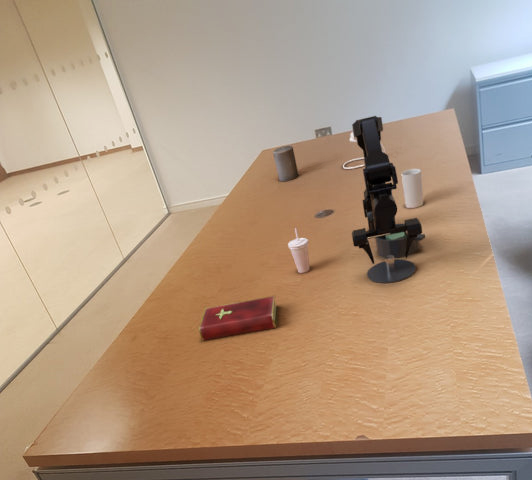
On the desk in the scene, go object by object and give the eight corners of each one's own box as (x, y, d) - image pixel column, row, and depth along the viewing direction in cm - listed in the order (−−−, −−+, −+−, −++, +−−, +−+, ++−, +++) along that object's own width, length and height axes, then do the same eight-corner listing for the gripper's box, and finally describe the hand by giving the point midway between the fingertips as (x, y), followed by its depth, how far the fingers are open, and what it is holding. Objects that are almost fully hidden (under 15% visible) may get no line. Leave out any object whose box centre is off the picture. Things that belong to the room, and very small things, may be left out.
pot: (414, 263, 165) (412, 242, 161) (362, 257, 177) (359, 238, 173) (434, 244, 172) (433, 225, 168) (384, 240, 183) (381, 221, 180)
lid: (400, 288, 154) (398, 270, 151) (358, 281, 163) (355, 265, 161) (424, 265, 162) (423, 248, 159) (383, 260, 171) (381, 244, 168)
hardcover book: (276, 328, 152) (272, 315, 150) (202, 341, 156) (197, 328, 154) (278, 307, 162) (274, 294, 160) (208, 319, 166) (204, 307, 164)
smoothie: (316, 264, 180) (307, 223, 173) (310, 274, 175) (302, 232, 168) (297, 266, 182) (288, 225, 175) (291, 275, 178) (282, 234, 170)
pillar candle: (302, 173, 270) (296, 142, 263) (292, 181, 264) (285, 148, 256) (285, 174, 276) (278, 143, 268) (275, 182, 270) (268, 150, 262)
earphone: (388, 153, 251) (353, 133, 248) (367, 185, 260) (334, 166, 258) (387, 145, 262) (354, 126, 259) (368, 176, 271) (336, 158, 269)
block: (387, 249, 176) (385, 234, 173) (401, 244, 176) (400, 229, 174) (394, 254, 172) (392, 239, 169) (409, 249, 172) (407, 234, 169)
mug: (423, 207, 199) (420, 173, 193) (403, 209, 202) (400, 176, 195) (425, 197, 206) (423, 164, 200) (407, 199, 209) (403, 167, 203)
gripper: (413, 191, 157) (418, 242, 165) (347, 205, 160) (355, 255, 169) (419, 204, 148) (424, 258, 156) (349, 218, 151) (357, 270, 159)
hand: (389, 260), depth 160 cm, fingers open, 9 cm apart
